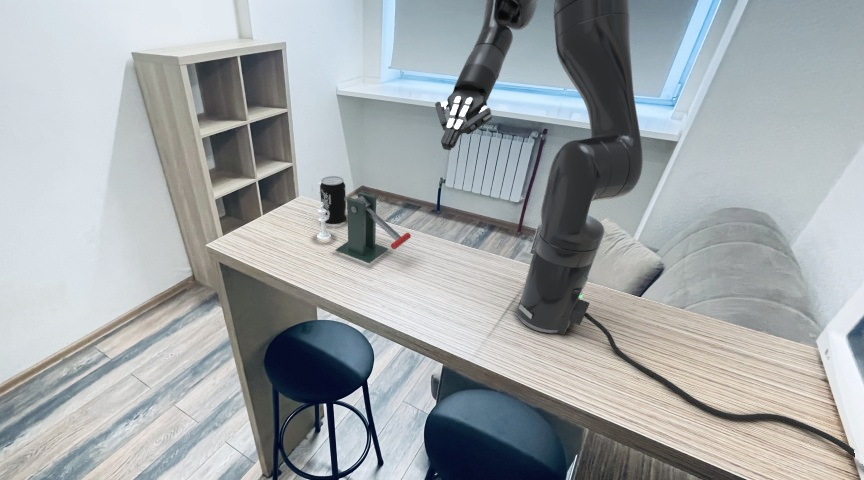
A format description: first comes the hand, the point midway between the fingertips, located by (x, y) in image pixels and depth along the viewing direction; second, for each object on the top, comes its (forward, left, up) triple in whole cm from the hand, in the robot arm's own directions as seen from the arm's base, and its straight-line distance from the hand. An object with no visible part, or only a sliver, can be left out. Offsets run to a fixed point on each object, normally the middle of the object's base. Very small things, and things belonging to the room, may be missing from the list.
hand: (446, 147), depth 85 cm
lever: (+8, +12, -15) cm, 22 cm away
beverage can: (+29, +3, -24) cm, 38 cm away
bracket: (+13, +12, -24) cm, 30 cm away
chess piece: (+25, +12, -24) cm, 37 cm away
